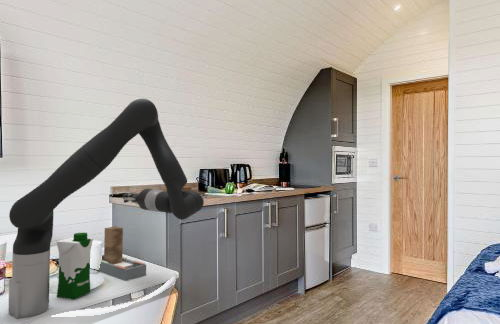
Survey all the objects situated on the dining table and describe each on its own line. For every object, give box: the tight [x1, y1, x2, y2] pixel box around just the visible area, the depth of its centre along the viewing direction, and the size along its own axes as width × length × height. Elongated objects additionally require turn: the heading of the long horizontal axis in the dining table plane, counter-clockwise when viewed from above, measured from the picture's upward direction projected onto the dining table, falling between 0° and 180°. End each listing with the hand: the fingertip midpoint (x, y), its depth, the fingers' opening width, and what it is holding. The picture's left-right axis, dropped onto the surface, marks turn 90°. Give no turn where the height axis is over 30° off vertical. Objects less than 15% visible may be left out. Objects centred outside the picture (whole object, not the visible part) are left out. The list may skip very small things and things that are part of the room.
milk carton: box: [56, 232, 94, 301], centre depth 114 cm, size 9×9×20 cm
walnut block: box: [103, 226, 124, 265], centre depth 141 cm, size 5×5×14 cm
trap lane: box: [98, 254, 147, 282], centre depth 140 cm, size 9×26×4 cm, turn 53°
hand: (124, 196), depth 131 cm, fingers closed
